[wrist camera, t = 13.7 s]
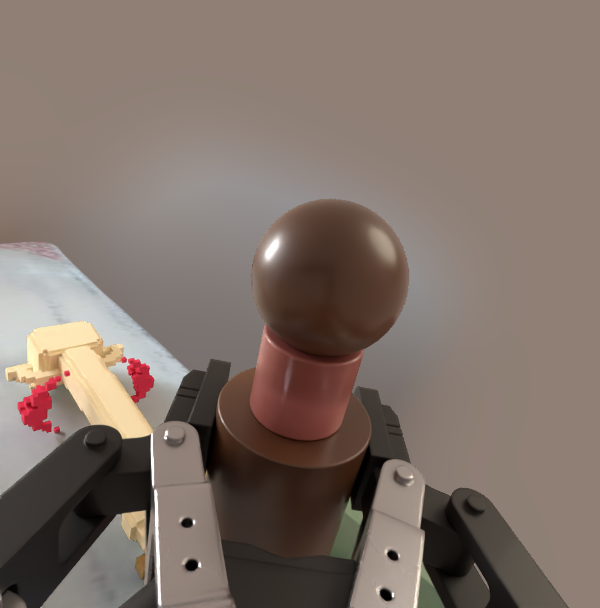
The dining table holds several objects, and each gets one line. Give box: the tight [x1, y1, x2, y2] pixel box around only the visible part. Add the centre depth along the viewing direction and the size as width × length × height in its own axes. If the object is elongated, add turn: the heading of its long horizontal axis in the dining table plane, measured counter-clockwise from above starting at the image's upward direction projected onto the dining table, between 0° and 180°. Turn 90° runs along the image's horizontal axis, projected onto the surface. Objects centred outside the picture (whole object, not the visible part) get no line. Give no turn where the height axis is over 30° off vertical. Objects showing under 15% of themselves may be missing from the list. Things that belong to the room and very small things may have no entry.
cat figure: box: [6, 321, 154, 580], centre depth 34 cm, size 10×9×25 cm
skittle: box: [205, 199, 409, 558], centre depth 14 cm, size 5×5×16 cm
